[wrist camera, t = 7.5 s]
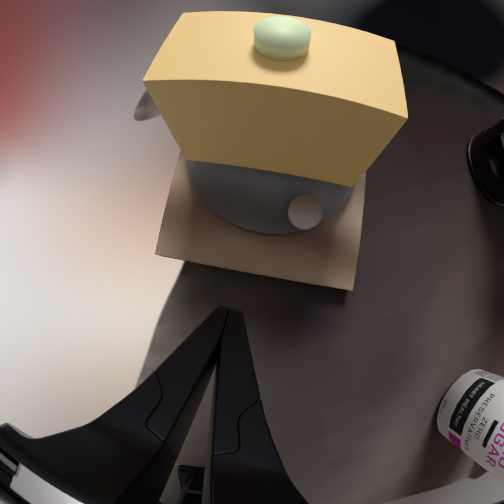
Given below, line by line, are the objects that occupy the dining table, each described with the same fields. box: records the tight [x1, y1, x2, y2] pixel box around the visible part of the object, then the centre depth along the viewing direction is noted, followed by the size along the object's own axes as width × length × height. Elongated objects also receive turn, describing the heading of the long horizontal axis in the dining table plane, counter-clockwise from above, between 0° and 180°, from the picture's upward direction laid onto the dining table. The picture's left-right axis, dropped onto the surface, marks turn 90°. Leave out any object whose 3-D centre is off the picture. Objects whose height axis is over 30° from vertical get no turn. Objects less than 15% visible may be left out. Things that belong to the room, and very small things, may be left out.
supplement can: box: [437, 369, 504, 483], centre depth 13 cm, size 8×8×15 cm
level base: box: [155, 151, 366, 290], centre depth 22 cm, size 20×16×4 cm
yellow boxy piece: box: [143, 11, 408, 187], centre depth 14 cm, size 6×13×10 cm, turn 79°
